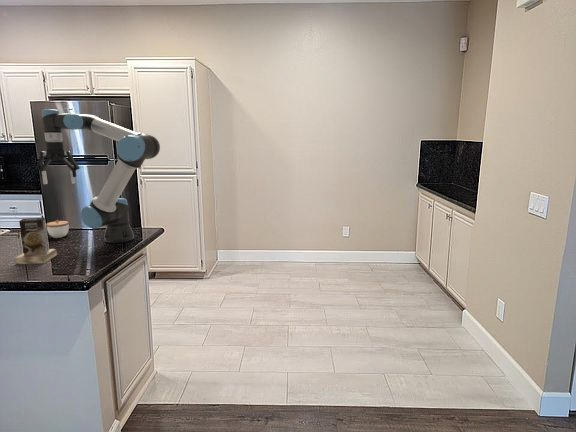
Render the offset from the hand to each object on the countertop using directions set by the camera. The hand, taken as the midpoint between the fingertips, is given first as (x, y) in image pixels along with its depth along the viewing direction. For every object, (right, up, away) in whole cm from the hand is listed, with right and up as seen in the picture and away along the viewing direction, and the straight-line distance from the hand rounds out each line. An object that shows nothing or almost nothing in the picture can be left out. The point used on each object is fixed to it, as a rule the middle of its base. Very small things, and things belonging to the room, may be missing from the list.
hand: (59, 183), depth 196 cm
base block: (+1, -37, -19) cm, 41 cm away
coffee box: (+1, -34, -19) cm, 39 cm away
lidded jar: (-12, -28, +20) cm, 37 cm away
